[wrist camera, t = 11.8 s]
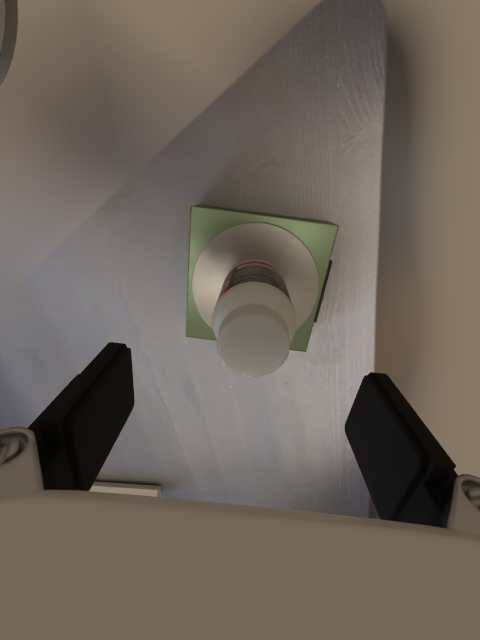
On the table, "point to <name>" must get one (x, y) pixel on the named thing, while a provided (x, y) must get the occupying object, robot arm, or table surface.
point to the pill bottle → (254, 319)
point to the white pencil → (126, 488)
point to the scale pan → (256, 245)
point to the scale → (310, 232)
